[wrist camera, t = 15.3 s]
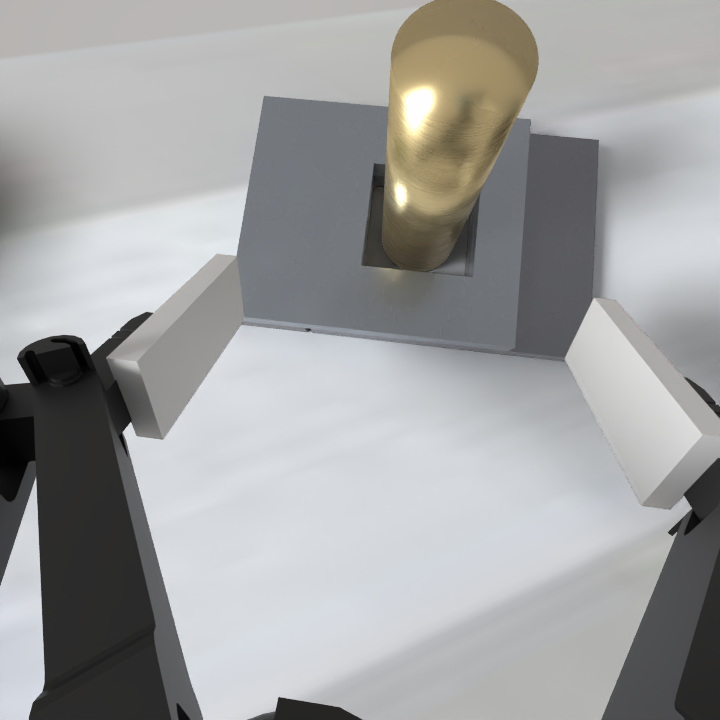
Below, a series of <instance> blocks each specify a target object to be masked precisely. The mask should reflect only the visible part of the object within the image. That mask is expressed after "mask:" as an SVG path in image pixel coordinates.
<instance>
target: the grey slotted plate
mask: <svg viewBox="0 0 720 720" xmlns="http://www.w3.org/2000/svg"><path fill="white" fill-rule="evenodd" d="M388 109H389V107H383V106H371V105H360V104H349V103H337V102H326V101H315V100H303V99H292V98H280V97H269V96H264V99H263V105H262V111H261V116H260V122H259V128H258V134H257V140H256V146H255V152H254V157H253V163H252V169H251V175H250V181H249V187H248V193H247V198H246V204H245V210H244V216H243V222H242V228H241V234H240V239H239V245H238V251H237V260H238V269H239V277H240V286H241V294H242V302H243V311H244V319H245V320H244V321H243V323H242V324H241V325H250V326H258V327H267V328H276V329H285V330H294V331H302V332H308V328H309V329H317V330H326V331H335V332H344V333H353V334H361V335H370V336H379V337H388V338H397V339H405V340H414V341H423V342H432V343H441V344H450V345H458V346H467V347H476V348H485V349H494V350H502V351H509V350H511V349H513V348H515V341H516V326H517V312H518V297H519V283H520V268H521V254H522V239H523V225H524V211H525V196H526V182H527V167H528V153H529V138H530V124H531V120H530V119H519V118H516V120H515V122H514V124H513V126H512V128H511V130H510V133H509V135H508V137H507V139H506V141H505V143H504V145H503V147H502V149H501V151H500V153H499V155H498V157H497V159H496V161H495V163H494V165H493V168H492V170H491V172H490V174H489V176H488V178H487V180H486V182H485V184H484V186H483V188H482V190H481V192H480V194H479V196H478V198H477V201H476V203H475V209H474V221H473V232H472V243H471V255H470V266H469V277H466V276H456V275H447V274H438V273H428V272H419V271H409V270H400V269H390V268H381V267H371V266H362V265H363V257H364V250H365V242H366V234H367V226H368V218H369V210H370V202H371V194H372V186H373V178H374V175H378V176H385V167H386V147H387V128H388Z"/></svg>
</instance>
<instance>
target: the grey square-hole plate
mask: <svg viewBox="0 0 720 720" xmlns="http://www.w3.org/2000/svg"><path fill="white" fill-rule="evenodd" d="M598 145H599V140H592V139H581V138H570V137H559V136H548V135H537V134H530V138H529V153H528V167H527V182H526V196H525V211H524V225H523V239H522V254H521V268H520V283H519V297H518V312H517V326H516V341H515V348H513V349H511V350H509V351H502V350H494V349H485V348H476V347H467V346H458V345H450V344H441V343H432V342H423V341H414V340H405V339H397V338H388V337H379V336H370V335H361V334H353V333H344V332H335V331H326V330H317V329H311V330H312V332H313V333H320V334H329V335H337V336H346V337H355V338H364V339H373V340H381V341H390V342H399V343H408V344H416V345H425V346H434V347H443V348H452V349H460V350H469V351H478V352H487V353H496V354H504V355H513V356H522V357H531V358H539V359H548V360H557V361H565V357H566V355H567V353H568V351H569V348H570V346H571V344H572V342H573V340H574V338H575V336H576V334H577V332H578V330H579V328H580V326H581V324H582V322H583V319H584V317H585V315H586V313H587V311H588V309H589V307H590V305H591V303H592V283H593V260H594V237H595V214H596V191H597V168H598ZM374 186H381V187H384V186H385V176H378V175H374V178H373V186H372V194H371V202H370V210H369V218H368V226H367V234H366V242H365V250H364V257H363V265H362V266H364V259H365V251H366V243H367V235H368V227H369V219H370V211H371V203H372V195H373V187H374ZM474 209H475V205H474V207H473V209H472V211H471V213H470V221H469V233H468V244H467V255H466V267H465V276H466V277H469V266H470V255H471V243H472V232H473V221H474Z"/></svg>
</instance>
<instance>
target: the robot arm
mask: <svg viewBox="0 0 720 720" xmlns="http://www.w3.org/2000/svg"><path fill="white" fill-rule="evenodd" d="M244 320H245V319H244V311H243V302H242V294H241V286H240V277H239V269H238V260H237V256H231V255H222V254H216V255H215V256H214V257H213V258H212V259H211V260H210V261H209V262H208V263H207V264H206V265H205V266H204V267H203V268H201V269H200V270H199V271H198V272H197V273H196V274H195V275H194V276H193V277H192V278H191V279H190V280H189V281H188V282H186V283H185V284H184V285H183V286H182V287H181V288H180V289H179V290H178V291H177V292H176V293H175V294H174V295H173V296H172V297H170V298H169V299H168V300H167V301H166V302H165V303H164V304H163V305H162V306H161V307H160V308H159V309H158V310H157V311H155V312H154V313H150V312H145V313H143V314H141V315H139V316H137V317H135V318H133V319H131V320H130V321H128V322H127V323H126V324H125V325H124V326H123V327H122V328H121V329H120V331H117V332H116V333H115V334H114V335H113V336H112V338H111V339H110V338H109V339H108V340H107V341H106V342H105V343H104V344H102V345H101V346H100V347H99V348H98V349H97V350H96V351H94V352H93V353H92V354H91V355H90V354H89V351H88V349H87V346H86V344H85V342H84V341H83V340H82V338H79V337H76V336H71V335H60V336H52V337H48V338H45V339H41V340H38V341H36V342H34V343H32V344H30V345H28V346H26V347H25V348H24V349H23V350H22V351H21V352H20V353H19V355H18V357H17V360H18V361H19V363H20V365H21V367H22V369H23V370H24V372H25V374H26V376H27V377H28V379H29V381H30V383H22V384H11V385H4V383H3V382H2V380H1V378H0V585H1V582H2V579H3V576H4V573H5V569H6V566H7V563H8V560H9V557H10V554H11V551H12V548H13V545H14V542H15V539H16V536H17V533H18V530H19V527H20V524H21V520H22V517H23V514H24V511H25V508H26V505H27V502H28V499H29V496H30V493H31V490H32V487H33V484H34V481H35V478H36V480H37V503H38V526H39V549H40V572H41V596H42V619H43V642H44V665H45V684H44V688H43V692H42V693H41V694H40V695H39V696H38V698H37V699H36V700H35V701H34V702H33V705H32V708H31V712H30V715H29V720H203V717H202V714H201V711H200V707H199V704H198V701H197V699H196V696H195V693H194V691H193V688H192V685H191V682H190V679H189V675H188V672H187V668H186V664H185V660H184V657H183V653H182V649H181V645H180V642H179V638H178V634H177V630H176V627H175V623H174V619H173V615H172V612H171V608H170V604H169V600H168V597H167V593H166V589H165V585H164V582H163V578H162V574H161V570H160V567H159V563H158V559H157V555H156V552H155V548H154V544H153V540H152V537H151V533H150V529H149V525H148V522H147V518H146V514H145V510H144V507H143V503H142V499H141V495H140V492H139V488H138V484H137V480H136V477H135V473H134V469H133V465H132V462H131V458H130V454H129V450H128V447H127V443H126V439H125V437H124V435H123V431H124V430H125V428H126V427H127V426H128V425H129V423H130V422H131V423H132V425H133V428H134V430H135V433H136V435H137V436H140V437H147V438H154V439H162V440H163V439H164V438H165V436H166V435H167V433H168V432H169V430H170V429H171V427H172V426H173V424H174V423H175V421H176V420H177V418H178V417H179V416H180V414H181V413H182V411H183V410H184V408H185V407H186V405H187V404H188V402H189V401H190V399H191V398H192V396H193V395H194V393H195V392H196V390H197V389H198V387H199V386H200V385H201V383H202V382H203V380H204V379H205V377H206V376H207V374H208V373H209V371H210V370H211V368H212V367H213V365H214V364H215V362H216V361H217V359H218V358H219V357H220V355H221V354H222V352H223V351H224V349H225V348H226V346H227V345H228V343H229V342H230V340H231V339H232V337H233V336H234V334H235V333H236V331H237V330H238V328H239V327H240V326H241V324H242V323H243V321H244ZM565 361H566V363H567V365H568V367H569V369H570V371H571V372H572V374H573V376H574V378H575V380H576V382H577V384H578V386H579V388H580V390H581V392H582V394H583V395H584V397H585V399H586V401H587V403H588V405H589V407H590V409H591V411H592V413H593V415H594V417H595V419H596V420H597V422H598V424H599V426H600V428H601V430H602V432H603V434H604V436H605V438H606V440H607V442H608V443H609V445H610V447H611V449H612V451H613V453H614V455H615V457H616V459H617V461H618V463H619V465H620V466H621V468H622V470H623V472H624V474H625V476H626V478H627V480H628V482H629V484H630V486H631V488H632V490H633V491H634V493H635V495H636V497H637V499H638V501H639V503H640V505H641V506H648V507H655V508H662V509H669V510H671V508H672V507H673V506H674V505H675V504H676V503H677V502H678V501H679V500H680V499H681V498H682V497H683V496H685V498H686V499H687V501H688V502H689V504H690V505H691V507H692V509H691V510H690V511H689V512H688V513H687V514H686V515H685V516H684V517H683V518H682V519H681V520H680V521H679V522H678V523H677V524H676V525H675V526H674V527H673V528H672V529H671V530H670V531H669V532H668V533H669V534H670V535H672V536H673V535H674V534H675V533H676V532H677V535H676V537H675V540H674V542H673V545H672V547H671V549H670V552H669V554H668V557H667V559H666V562H665V564H664V567H663V569H662V572H661V574H660V577H659V579H658V581H657V584H656V586H655V589H654V591H653V594H652V596H651V599H650V601H649V604H648V606H647V609H646V611H645V613H644V616H643V618H642V621H641V623H640V626H639V628H638V631H637V633H636V636H635V638H634V641H633V643H632V645H631V648H630V650H629V653H628V655H627V658H626V660H625V663H624V665H623V668H622V670H621V673H620V675H619V678H618V680H617V682H616V685H615V687H614V690H613V692H612V695H611V697H610V700H609V702H608V705H607V707H606V710H605V712H604V714H603V717H602V719H601V720H720V407H719V405H716V404H715V403H716V402H715V401H714V400H713V399H712V398H711V397H710V396H709V394H708V393H707V392H706V391H705V390H704V389H702V388H701V387H700V386H698V385H697V384H695V383H694V382H692V381H691V380H690V379H688V378H686V377H683V376H682V375H681V374H680V373H679V372H678V370H677V369H676V368H675V367H674V366H673V365H672V364H671V363H670V361H669V360H668V359H667V358H666V357H665V356H664V355H663V353H662V352H661V351H660V350H659V349H658V348H657V347H656V345H655V344H654V343H653V342H652V341H651V340H650V339H649V337H648V336H647V335H646V334H645V333H644V332H643V331H642V329H641V328H640V327H639V326H638V325H637V324H636V323H635V321H634V320H633V319H632V318H631V317H630V316H629V315H628V313H627V312H626V311H625V310H624V309H623V308H622V307H621V306H620V304H619V303H618V302H617V301H616V300H610V299H602V298H594V299H593V301H592V303H591V305H590V307H589V309H588V311H587V313H586V315H585V317H584V319H583V322H582V324H581V326H580V328H579V330H578V332H577V334H576V336H575V338H574V340H573V342H572V344H571V346H570V348H569V351H568V353H567V355H566V357H565ZM248 720H362V719H360V718H358V717H357V716H355V715H353V714H351V713H349V712H347V711H345V710H344V709H342V708H340V707H334V706H328V705H322V704H316V703H310V702H304V701H298V700H292V699H286V698H280V697H279V698H278V702H277V707H276V712H271V713H266V714H262V715H259V716H256V717H254V718H251V719H248Z"/></svg>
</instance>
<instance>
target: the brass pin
mask: <svg viewBox="0 0 720 720" xmlns="http://www.w3.org/2000/svg"><path fill="white" fill-rule="evenodd" d="M537 70H538V50H537V45H536V42H535V39H534V37H533V34H532V32H531V30H530V29H529V27H528V26H527V24H526V23H525V22H524V21H523V20H522V19H521V17H520V16H518V15H517V14H516V13H515V12H514V11H513V10H511V9H510V8H508V7H507V6H505V5H503V4H501V3H499V2H497V1H494V0H434V1H432V2H430V3H428V4H426V5H424V6H422V7H421V8H419V9H418V10H417V11H415V12H414V13H413V14H412V15H411V16H410V17H409V18H408V19H407V20H406V21H405V22H404V23H403V25H402V26H401V28H400V29H399V31H398V33H397V35H396V37H395V40H394V43H393V47H392V52H391V71H390V90H389V109H388V128H387V147H386V167H385V186H384V205H383V224H382V244H383V248H384V251H385V253H386V255H387V256H388V258H389V259H390V260H391V261H392V262H393V263H394V264H395V265H397V266H398V267H400V268H402V269H404V270H409V271H419V272H426V271H430V270H433V269H435V268H437V267H439V266H440V265H441V264H443V263H444V262H445V261H446V260H447V258H448V257H449V256H450V254H451V252H452V250H453V248H454V246H455V244H456V242H457V240H458V238H459V236H460V233H461V231H462V229H463V227H464V225H465V223H466V221H467V219H468V217H469V215H470V213H471V211H472V209H473V207H474V205H475V203H476V201H477V198H478V196H479V194H480V192H481V190H482V188H483V186H484V184H485V182H486V180H487V178H488V176H489V174H490V172H491V170H492V168H493V165H494V163H495V161H496V159H497V157H498V155H499V153H500V151H501V149H502V147H503V145H504V143H505V141H506V139H507V137H508V135H509V133H510V130H511V128H512V126H513V124H514V122H515V120H516V118H517V116H518V114H519V112H520V110H521V108H522V106H523V104H524V102H525V100H526V98H527V95H528V93H529V91H530V89H531V87H532V85H533V83H534V81H535V78H536V74H537Z"/></svg>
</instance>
